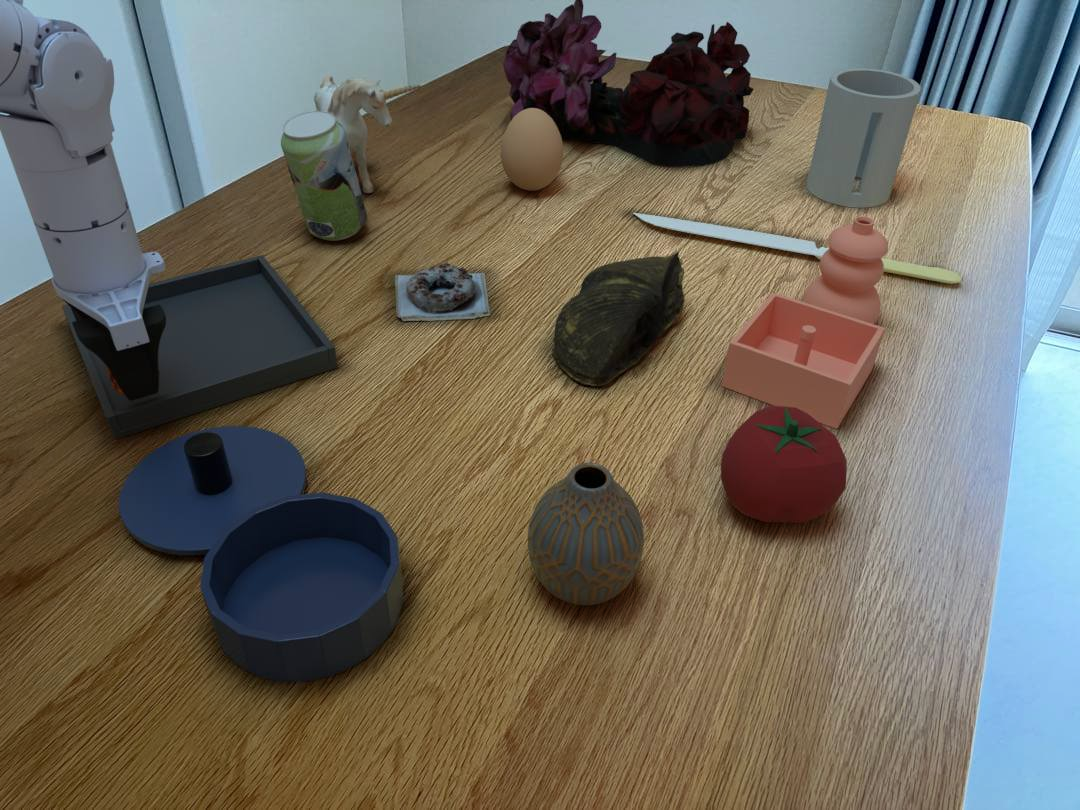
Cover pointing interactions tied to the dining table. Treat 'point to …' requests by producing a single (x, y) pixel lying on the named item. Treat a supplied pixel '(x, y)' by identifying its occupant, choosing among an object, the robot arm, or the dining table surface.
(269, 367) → the tray
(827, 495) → the tomato
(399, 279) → the donut
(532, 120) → the egg
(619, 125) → the flower arrangement
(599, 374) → the seashell
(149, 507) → the tin lid
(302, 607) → the tin
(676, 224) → the knife
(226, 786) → the dining table surface
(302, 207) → the beverage can
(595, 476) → the vase
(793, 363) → the pottery
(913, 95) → the cup
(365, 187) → the unicorn figurine
